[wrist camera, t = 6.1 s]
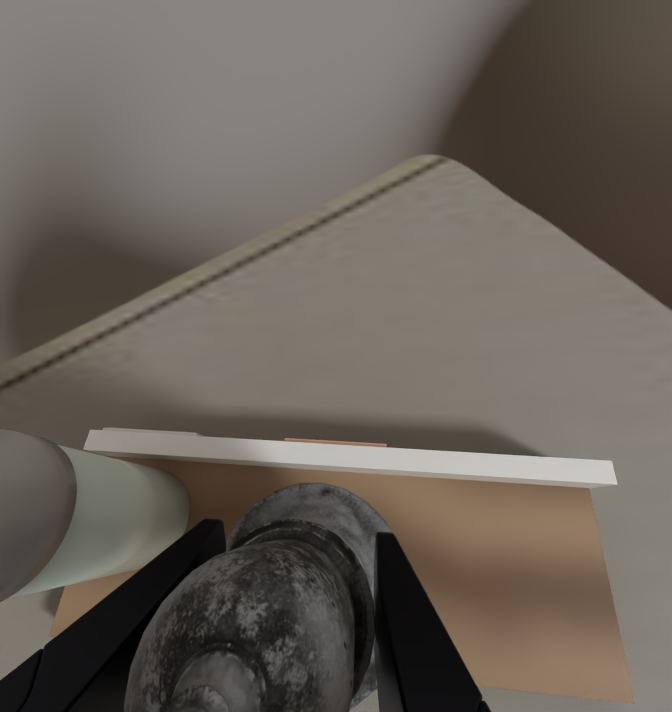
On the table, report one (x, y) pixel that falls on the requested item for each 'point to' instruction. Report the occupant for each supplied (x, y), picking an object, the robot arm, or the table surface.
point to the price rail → (351, 458)
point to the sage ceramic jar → (79, 514)
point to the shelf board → (457, 568)
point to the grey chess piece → (270, 614)
